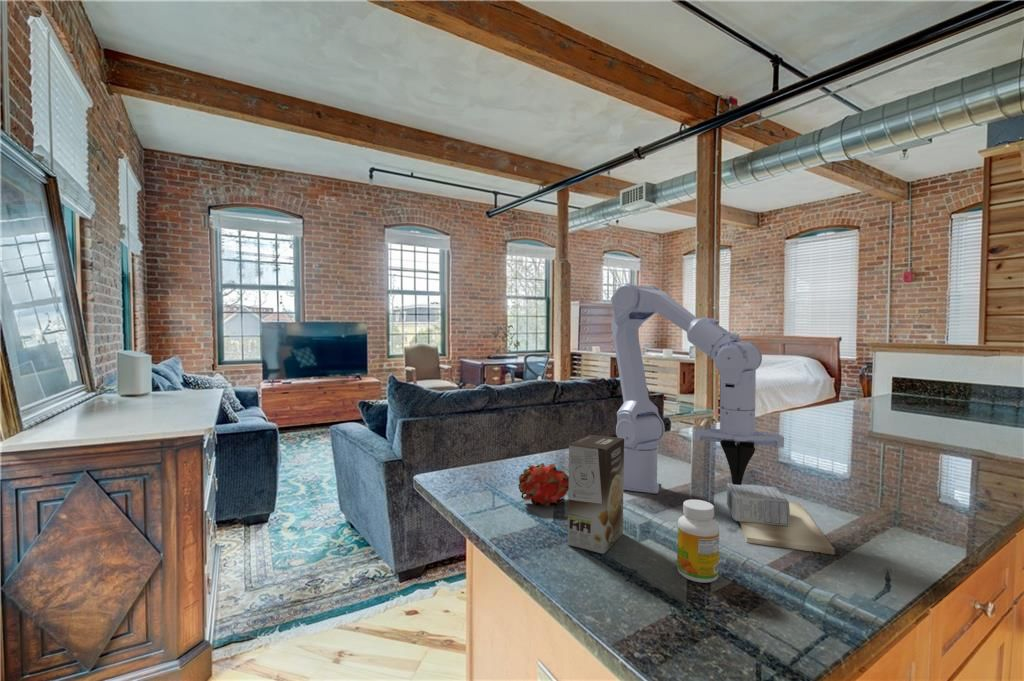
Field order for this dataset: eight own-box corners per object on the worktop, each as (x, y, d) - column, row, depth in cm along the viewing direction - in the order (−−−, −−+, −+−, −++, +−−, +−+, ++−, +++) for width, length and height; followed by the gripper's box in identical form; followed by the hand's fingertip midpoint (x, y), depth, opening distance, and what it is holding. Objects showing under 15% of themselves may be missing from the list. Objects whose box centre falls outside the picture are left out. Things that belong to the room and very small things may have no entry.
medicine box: (733, 521, 80) (789, 527, 78) (734, 495, 80) (790, 501, 78) (726, 505, 88) (777, 510, 85) (726, 481, 88) (777, 486, 85)
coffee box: (605, 555, 69) (606, 449, 69) (566, 545, 73) (567, 444, 72) (624, 533, 77) (625, 437, 77) (588, 524, 81) (588, 433, 80)
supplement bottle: (670, 564, 67) (671, 497, 67) (706, 563, 67) (707, 497, 67) (687, 584, 61) (688, 512, 61) (726, 583, 62) (727, 511, 62)
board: (746, 542, 74) (746, 537, 74) (731, 499, 93) (731, 496, 93) (834, 554, 70) (834, 549, 70) (799, 507, 89) (799, 503, 89)
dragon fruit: (511, 513, 89) (565, 514, 94) (530, 499, 83) (587, 500, 88) (507, 471, 94) (558, 473, 99) (524, 454, 88) (578, 457, 92)
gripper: (695, 409, 82) (694, 485, 82) (788, 414, 77) (787, 495, 77) (693, 403, 89) (692, 474, 89) (779, 408, 84) (778, 482, 84)
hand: (736, 483), depth 83 cm, fingers closed
